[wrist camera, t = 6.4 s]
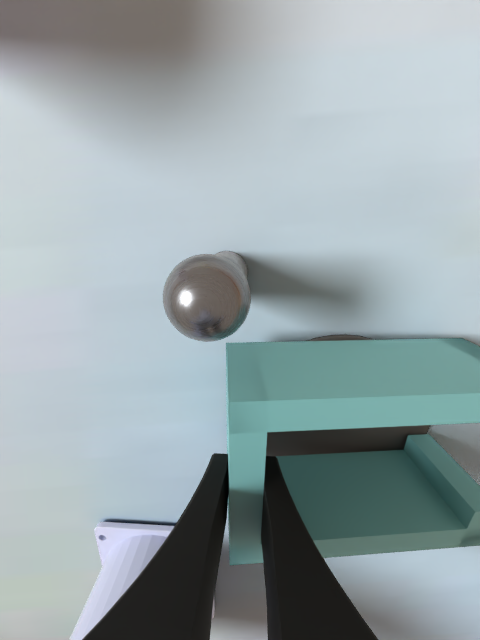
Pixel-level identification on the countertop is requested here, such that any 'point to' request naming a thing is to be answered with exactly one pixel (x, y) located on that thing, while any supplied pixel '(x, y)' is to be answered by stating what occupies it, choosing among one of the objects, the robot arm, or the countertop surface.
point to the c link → (356, 467)
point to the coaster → (340, 433)
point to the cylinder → (208, 296)
